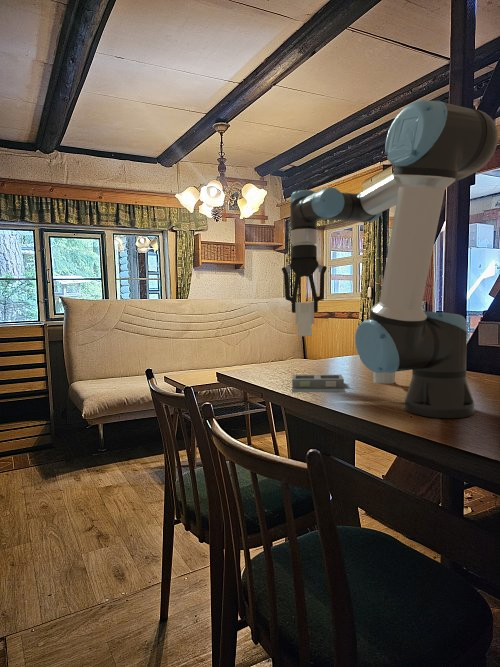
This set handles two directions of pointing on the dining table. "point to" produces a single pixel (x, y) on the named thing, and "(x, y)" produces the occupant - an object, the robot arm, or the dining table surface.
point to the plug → (304, 319)
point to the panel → (318, 383)
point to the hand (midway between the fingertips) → (304, 323)
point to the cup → (384, 378)
